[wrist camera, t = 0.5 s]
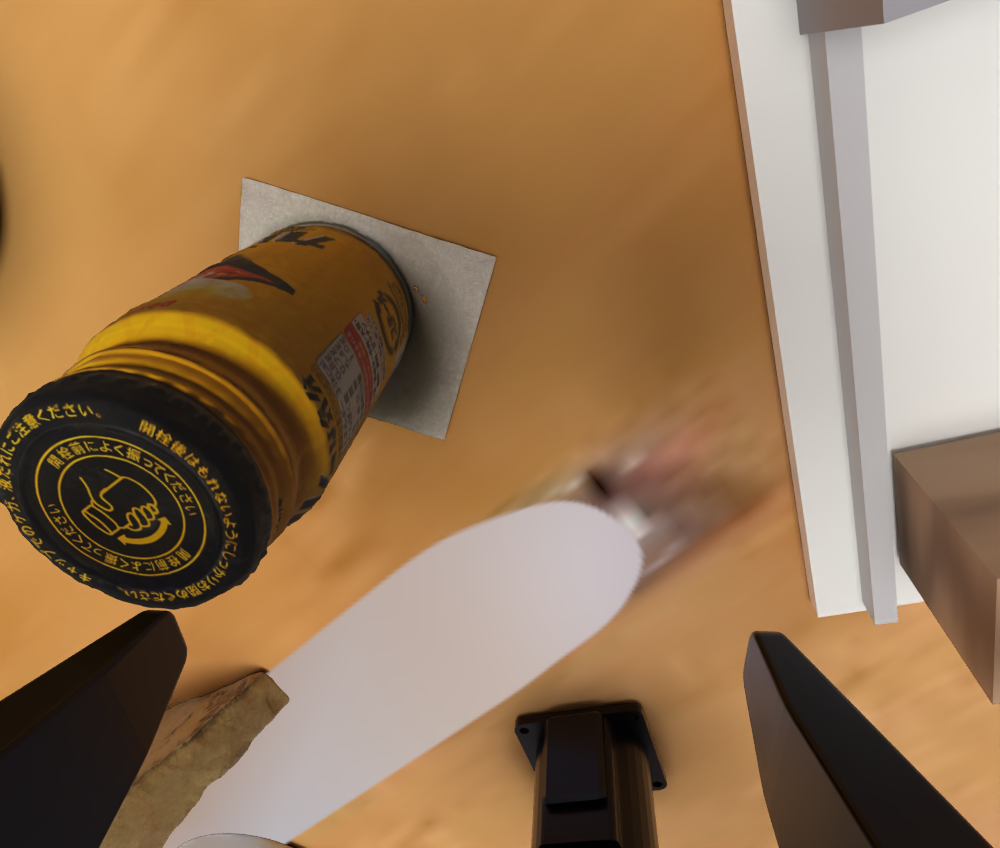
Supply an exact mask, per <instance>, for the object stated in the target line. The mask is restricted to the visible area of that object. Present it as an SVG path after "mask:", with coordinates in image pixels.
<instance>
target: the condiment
mask: <svg viewBox="0 0 1000 848" xmlns="http://www.w3.org/2000/svg"><path fill="white" fill-rule="evenodd" d="M495 261H496V257H494V256H491V255H488V254H485V253H482V252H478V251H474V250H471V249H468V248H465V247H462V246H459V245H457V244H453V243H450V242H446V241H442V240H439V239H436V238H433V237H430V236H427V235H424V234H421V233H418V232H415V231H411V230H408V229H404V228H402V227H399V226H396V225H393V224H390V223H387V222H384V221H381V220H378V219H375V218H372V217H369V216H366V215H363V214H360V213H357V212H354V211H351V210H348V209H344V208H341V207H338V206H334V205H331V204H328V203H326V202H322V201H319V200H316V199H313V198H310V197H307V196H304V195H301V194H297V193H294V192H290V191H286V190H284V189H281V188H278V187H275V186H272V185H269V184H265V183H262V182H258V181H255V180H251V179H246V178H243V177H242V193H241V209H240V225H239V250H238V252H237V253H235V254H233V255H230V256H228V257H227V258H225V259H223V260H222V261H221V262H220V263H217V264H215V265H212V266H210V267H208V268H206V269H205V270H203V271H201V272H200V273H199V274H198V275H196V276H194V277H192V278H191V279H189V280H188V281H186V282H184V283H182V284H180V285H178V286H177V287H175V288H173V289H171V290H170V291H168V292H166V293H164V294H162V295H160V296H159V297H157V298H155V299H153V300H151V301H149V302H146V303H143V304H141V305H139V306H137V307H135V308H133V309H130V310H129V311H128V312H127V313H126V314H124V315H123V316H121V317H120V318H119V319H118V320H116V321H114V322H112V323H111V324H109V325H108V326H107V327H106V328H104V329H103V330H102V331H101V332H100V333H98V334H97V335H95V336H94V337H93V338H92V339H91V340H90V341H89V343H88V344H87V345H86V347H85V348H84V350H83V352H82V353H81V355H80V357H79V358H78V360H77V363H75V364H74V365H73V366H72V367H71V368H70V369H68V370H67V371H66V372H65V373H64V374H63V376H62V377H60V378H58V379H56V380H54V381H52V382H49V383H47V384H45V385H43V386H42V387H41V388H39V389H38V390H37V391H35V392H32V393H29V394H28V395H27V397H26V398H25V399H24V400H23V401H22V402H21V403H20V404H19V405H18V406H16V407H15V408H14V409H13V410H12V411H11V413H10V415H9V416H8V417H7V419H6V420H5V421H4V423H3V425H2V426H1V428H0V502H1V503H2V504H4V505H5V506H6V507H7V509H8V510H9V512H10V515H11V517H12V519H13V521H14V522H15V523H16V525H17V526H18V529H19V531H20V532H21V534H22V535H23V536H24V537H25V538H26V539H27V540H28V541H29V542H30V543H31V544H32V545H33V547H34V548H35V549H36V550H38V551H39V552H40V553H42V554H43V555H44V556H46V557H47V558H48V559H49V560H50V561H51V562H52V563H53V564H54V565H55V566H57V567H58V568H60V569H61V570H62V571H63V572H65V573H66V574H68V575H70V576H71V577H73V578H74V579H75V580H76V581H78V582H80V583H83V584H85V585H88V586H89V587H91V588H95V589H98V590H100V591H102V592H104V593H105V594H107V595H109V596H111V597H114V598H116V599H118V600H121V601H124V602H128V603H132V604H136V605H141V606H144V607H149V608H165V609H173V610H175V609H179V608H186V607H194V606H197V605H200V604H202V603H204V602H207V601H209V600H211V599H213V598H214V597H216V596H218V595H220V594H223V593H225V592H226V591H228V590H230V589H231V588H233V587H235V586H238V585H241V584H242V583H243V582H244V581H245V580H246V579H247V578H248V577H249V575H250V574H251V573H254V572H255V570H256V569H257V566H258V565H259V562H260V560H261V559H262V558H263V557H264V556H265V555H266V554H267V547H268V546H269V545H271V544H272V543H273V542H274V540H275V539H276V538H277V537H278V536H279V535H280V534H281V533H282V532H283V531H284V530H285V528H286V527H287V526H289V525H291V524H292V523H294V522H296V521H297V520H299V519H300V518H301V517H302V516H303V515H304V514H305V513H306V512H308V511H309V510H310V509H311V508H312V507H313V506H314V504H315V503H316V502H317V501H318V500H319V499H320V498H321V495H322V494H323V492H324V490H325V488H326V486H327V484H328V483H329V482H330V480H331V478H332V477H333V475H334V473H335V472H336V470H337V468H338V466H339V464H340V463H341V461H342V459H343V457H344V456H345V454H346V452H347V451H348V449H349V447H350V446H351V444H352V442H353V440H354V438H355V437H356V435H357V434H358V432H359V430H360V428H361V426H362V425H363V423H364V421H365V420H366V418H367V416H368V417H372V418H375V419H377V420H380V421H385V422H389V423H392V424H395V425H398V426H402V427H404V428H407V429H409V430H412V431H415V432H417V433H420V434H424V435H428V436H431V437H435V438H438V439H441V440H444V439H445V435H446V432H447V429H448V425H449V421H450V418H451V415H452V411H453V408H454V404H455V401H456V397H457V394H458V390H459V386H460V383H461V380H462V376H463V373H464V369H465V366H466V362H467V359H468V355H469V352H470V348H471V345H472V341H473V337H474V335H475V331H476V327H477V324H478V319H479V317H480V313H481V310H482V306H483V303H484V299H485V296H486V292H487V289H488V285H489V282H490V278H491V275H492V271H493V268H494V264H495ZM414 286H416V287H417V288H418V292H415V291H414V289H413V287H414ZM421 295H424V296H425V297H426V299H427V303H426V304H425V303H424V302H423V300H422V299H421Z"/></svg>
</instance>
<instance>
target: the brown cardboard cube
mask: <svg viewBox="0 0 1000 848" xmlns="http://www.w3.org/2000/svg"><path fill="white" fill-rule="evenodd" d="M893 457H894V474H895V492H896V509H897V527H898V544H899V562H900V565H901V567H902V568H903V570H904V571H905V573H906V574H907V576H908V577H909V579H910V580H911V582H912V583H913V585H914V586H915V588H916V589H917V591H918V592H919V594H920V595H921V597H922V598H923V600H924V601H925V603H926V604H927V606H928V607H929V609H930V610H931V612H932V613H933V615H934V616H935V618H936V620H937V621H938V623H939V624H940V626H941V627H942V629H943V630H944V632H945V633H946V635H947V636H948V638H949V639H950V641H951V642H952V644H953V645H954V647H955V648H956V650H957V651H958V653H959V654H960V656H961V657H962V659H963V660H964V662H965V663H966V665H967V666H968V668H969V669H970V671H971V673H972V674H973V676H974V677H975V679H976V680H977V682H978V683H979V685H980V686H981V688H982V689H983V691H984V692H985V694H986V695H987V697H988V698H989V700H990V701H991V703H992V704H1000V432H999V433H994V434H989V435H984V436H979V437H974V438H970V439H965V440H960V441H955V442H950V443H945V444H940V445H935V446H931V447H926V448H921V449H916V450H911V451H906V452H901V453H896V454H893Z"/></svg>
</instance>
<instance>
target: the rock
mask: <svg viewBox="0 0 1000 848" xmlns="http://www.w3.org/2000/svg"><path fill="white" fill-rule="evenodd" d="M288 702H289V697H288V696H287V695H286V694H285V693H284V692H283V691H282V690H281V689H280V688H279V687H278V686H277V684H276V683H275V682H274V681H273V679H272V678H271V677H269V676H268V675H267V674H266V673H264V672H259V673H255V674H252V675H249V676H247V677H245V678H243V679H242V680H239V681H237V682H236V683H234V684H231V685H227V686H226V687H223V688H220V689H218V690H216V691H215V692H213V693H210V694H208V695H205V696H203V697H195V698H192V699H190V700H188V701H186V702H184V703H180V704H177V705H175V706H174V707H172V708H170V709H168V710H166V711H165V714H164V716H163V718H162V721H161V723H160V726H159V728H158V731H157V733H156V736H155V738H154V740H153V743H152V745H151V747H150V749H149V752H148V754H147V756H146V758H145V760H144V762H143V764H142V766H141V768H140V770H139V772H138V774H137V776H136V778H135V780H134V782H133V784H132V786H131V788H130V790H129V791H128V793H127V795H126V797H125V799H124V801H123V803H122V805H121V807H120V809H119V811H118V813H117V815H116V816H115V818H114V820H113V822H112V824H111V826H110V828H109V830H108V832H107V834H106V836H105V838H104V840H103V841H102V843H101V845H100V847H99V848H162V847H163V846H164V844H165V842H166V841H167V839H168V837H169V835H170V834H171V833H172V831H173V830H174V829H175V828H176V827H177V826H178V825H179V824H180V823H181V822H182V821H183V820H184V818H185V817H186V816H187V814H188V813H189V812H190V810H191V809H192V808H193V807H194V806H195V805H196V803H197V802H198V801H199V800H200V798H201V796H202V793H203V791H204V790H205V789H206V787H207V786H208V785H209V784H211V783H212V782H214V781H215V780H217V779H219V778H221V777H222V776H223V775H224V774H225V773H226V772H227V771H228V770H229V769H230V768H231V767H233V766H234V765H235V764H236V763H237V762H238V761H239V759H240V758H241V757H242V756H243V755H244V753H245V752H246V751H247V750H248V747H249V746H250V744H251V742H252V740H253V739H254V738H255V737H256V736H257V735H258V734H259V733H260V732H261V731H262V730H263V729H264V727H265V726H266V725H267V724H269V723H270V722H271V721H272V720H273V719H274V718H275V716H276V715H277V714H278V712H279V711H280V710H281V709H282V708H283V707H284V706H285V705H286V704H287V703H288Z"/></svg>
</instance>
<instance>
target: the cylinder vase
mask: <svg viewBox="0 0 1000 848" xmlns="http://www.w3.org/2000/svg"><path fill="white" fill-rule="evenodd" d="M178 848H293V847H290V846H288V845H285V844H283V843H280V842H277V841H273V840H270V839H266V838H262V837H257V836H252V835H245V834H230V833H226V834H211V835H205V836H201V837H197V838H194V839H192V840H189V841H187V842H185V843H184V844H182V845H180V846H179V847H178Z"/></svg>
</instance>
